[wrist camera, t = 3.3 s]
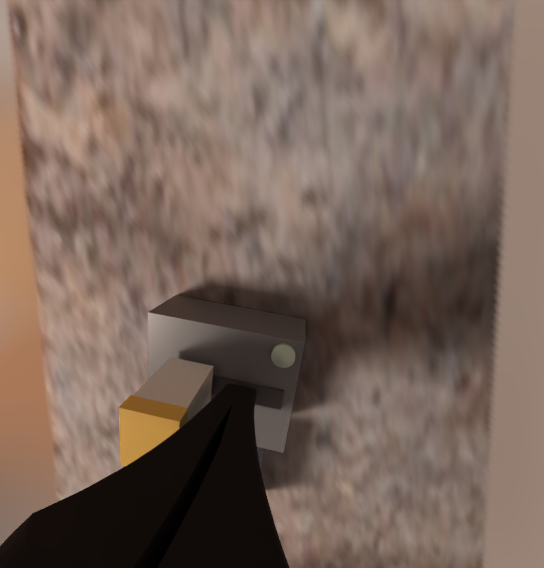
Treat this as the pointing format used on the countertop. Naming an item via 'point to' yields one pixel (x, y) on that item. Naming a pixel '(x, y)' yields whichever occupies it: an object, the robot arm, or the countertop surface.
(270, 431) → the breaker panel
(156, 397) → the handle
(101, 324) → the countertop surface
